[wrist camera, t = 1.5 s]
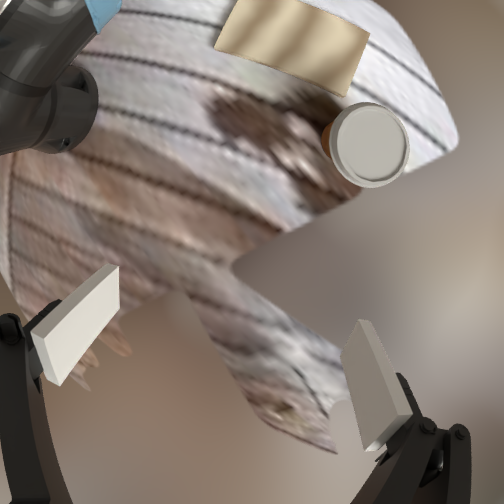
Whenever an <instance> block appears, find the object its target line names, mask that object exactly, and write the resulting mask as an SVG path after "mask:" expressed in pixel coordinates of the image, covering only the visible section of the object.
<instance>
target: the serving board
mask: <svg viewBox="0 0 504 504" xmlns="http://www.w3.org/2000/svg"><path fill="white" fill-rule="evenodd" d="M369 36H370V33H368V32H367V31H365V30H363V29H361V28H359V27H357V26H355V25H353V24H351V23H349V22H347V21H345V20H343V19H341V18H339V17H337V16H335V15H332V14H330V13H328V12H325V11H323V10H321V9H318V8H316V7H313V6H311V5H308V4H306V3H303V2H300V1H297V0H238V1H237V3H236V4H235V6H234V8H233V10H232V12H231V14H230V16H229V18H228V19H227V21H226V23H225V25H224V27H223V29H222V31H221V33H220V35H219V37H218V39H217V42H216V44H215V46H214V49H215V50H216V51H220V52H224V53H228V54H231V55H235V56H238V57H241V58H244V59H248V60H251V61H254V62H257V63H260V64H263V65H266V66H269V67H271V68H274V69H277V70H279V71H282V72H285V73H287V74H290V75H292V76H295V77H297V78H300V79H302V80H304V81H307V82H309V83H311V84H314V85H316V86H318V87H320V88H322V89H324V90H327V91H329V92H331V93H333V94H335V95H337V96H339V97H341V98H343V97H345V96H346V93H347V91H348V88H349V86H350V84H351V81H352V79H353V76H354V74H355V71H356V69H357V66H358V64H359V61H360V59H361V56H362V54H363V51H364V49H365V46H366V43H367V41H368V38H369Z"/></svg>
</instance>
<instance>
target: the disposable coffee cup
mask: <svg viewBox="0 0 504 504" xmlns="http://www.w3.org/2000/svg"><path fill="white" fill-rule="evenodd" d="M321 143H322V147H323V149H324V152H325V153H326V154H327V156H328V157H330V158H331V159H332V161H333V162H334V164H335V166H336V167H337V169H338V170H339V172H340V173H341V174H342V175H343V176H344V177H345V178H346V179H348V180H349V181H350V182H352V183H354V184H356V185H359V186H361V187H367V188H371V187H373V188H374V187H380V186H383V185H385V184H387V183H389V182H391V181H393V180H394V179H396V178H397V177H398V176H399V175H400V174H401V172H402V171H403V170H404V168H405V166H406V164H407V161H408V158H409V152H410V145H409V138H408V135H407V132H406V130H405V128H404V126H403V124H402V123H401V121H400V120H399V119H398V118H397V117H396V116H395V115H394V114H393V113H392V112H391V111H389V110H388V109H387V108H385V107H383V106H381V105H378V104H375V103H370V102H361V103H357V104H354V105H351V106H349V107H347V108H346V109H344V110H343V111H342V112H341V113H340V114H339V115H338V116H337V118H336V119H335V120H334V121H333V122H331V123H330V124H328V125H327V126H326V127H325V129H324V131H323V133H322V138H321Z"/></svg>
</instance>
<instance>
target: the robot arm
mask: <svg viewBox="0 0 504 504" xmlns="http://www.w3.org/2000/svg"><path fill="white" fill-rule="evenodd" d="M121 6H122V0H0V155H3V154H7V153H11V152H15V151H19V150H23V149H27V148H32V149H35V150H38V151H41V152H44V153H49V154H56V153H61V152H66V151H69V150H71V149H73V148H74V147H76V146H77V145H78V144H79V143H80V142H81V141H82V140H83V139H84V138H85V137H86V135H87V134H88V132H89V130H90V129H91V127H92V125H93V122H94V120H95V117H96V113H97V108H98V89H97V85H96V82H95V80H94V78H93V77H92V75H91V74H90V73H89V72H88V71H86V70H85V69H83V68H80V67H76V66H70V65H69V64H70V63H71V62H72V61H73V60H74V58H75V57H76V56H77V55H78V54H79V53H80V52H81V50H82V49H83V48H84V47H85V46H86V45H87V44H88V43H89V42H90V41H91V40H92V39H93V38H94V37H95V36H96V35H97V34H99V33H100V32H101V29H102V28H103V27H104V26H105V25H106V24H107V23H108V22H109V21H110V20H111V19H112V18H113V17H114V16H115V15H116V14H117V13H118V11H119V10H120V8H121ZM119 308H120V307H119V266H116V265H112V264H109V263H106V264H105V265H104V266H103V267H101V268H100V269H99V270H98V271H97V272H95V273H94V274H93V275H92V276H91V277H90V278H88V279H87V280H86V281H85V282H84V283H83V284H81V285H80V286H79V287H78V288H77V289H76V290H74V291H73V292H72V293H71V294H70V295H69V296H68V297H67V298H65V299H64V300H63V301H62V300H59V299H58V300H56V301H53V302H51V303H49V304H48V305H47V306H46V307H45V308H44V309H43V310H41V311H40V312H39V313H38V315H36V316H35V317H34V318H33V319H32V320H31V321H30V322H28V323H27V324H26V325H25V326H24V327H23V328H22V325H21V321H20V318H19V317H18V316H17V315H15V314H11V313H7V314H3V315H1V316H0V440H1V448H2V454H3V460H4V466H5V471H6V475H7V479H8V484H9V488H10V492H11V495H12V501H11V502H10V503H9V504H73V502H72V500H71V498H70V495H69V492H68V490H67V487H66V484H65V482H64V479H63V476H62V473H61V470H60V467H59V464H58V460H57V457H56V453H55V449H54V446H53V442H52V438H51V434H50V429H49V425H48V420H47V415H46V409H45V403H44V397H43V390H42V383H41V378H40V376H39V375H40V374H41V373H42V372H43V371H44V373H45V376H46V378H47V380H49V381H51V382H53V383H55V384H56V385H58V386H60V385H61V384H62V383H63V381H64V379H65V378H66V377H67V376H68V374H69V373H70V371H71V370H72V369H73V367H74V366H75V365H76V363H77V362H78V361H79V359H80V358H81V357H82V355H83V354H84V353H85V351H86V350H87V349H88V347H89V346H90V345H91V343H92V342H93V341H94V340H95V338H96V337H97V336H98V335H99V333H100V332H101V331H102V329H103V328H104V327H105V326H106V324H107V323H108V322H109V321H110V319H111V318H112V317H113V316H114V315H115V313H116V312H117V311H118V310H119ZM340 359H341V362H342V366H343V369H344V373H345V377H346V380H347V384H348V388H349V392H350V395H351V399H352V403H353V407H354V411H355V415H356V419H357V423H358V427H359V432H360V436H361V440H362V444H363V449H364V451H373V450H379V449H380V448H381V447H382V446H383V445H384V444H385V443H386V446H387V450H386V451H385V452H384V453H383V454H381V455H380V456H379V457H378V458H377V459H376V460H375V462H377V461H378V460H379V459H380V460H379V462H378V463H377V465H376V467H375V468H374V470H373V471H372V473H371V475H370V476H369V478H368V479H367V481H366V482H365V484H364V485H363V487H362V488H361V490H360V491H359V492H358V494H357V495H356V497H355V498H354V499H353V501H352V502H351V503H350V504H470V496H471V437H470V433H469V431H468V429H467V428H466V427H465V426H464V425H462V424H454V425H453V426H452V427H451V428H450V429H449V430H444V429H439V428H437V425H436V424H435V423H434V421H432V420H431V419H429V418H427V417H423V416H422V413H421V411H420V409H419V407H418V404H417V402H416V400H415V398H414V396H413V393H412V391H411V389H410V387H409V385H408V382H407V380H406V379H405V378H404V377H403V376H402V375H401V374H400V373H395V372H394V369H393V367H392V365H391V363H390V361H389V358H388V356H387V354H386V352H385V350H384V348H383V346H382V344H381V342H380V340H379V338H378V335H377V333H376V331H375V329H374V328H373V326H372V324H371V322H370V321H367V320H361V319H358V321H357V323H356V325H355V327H354V329H353V331H352V334H351V335H350V337H349V339H348V341H347V343H346V346H345V347H344V349H343V351H342V353H341V355H340ZM442 465H443V468H442Z"/></svg>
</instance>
